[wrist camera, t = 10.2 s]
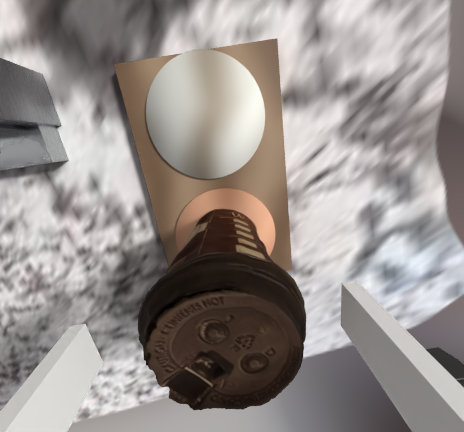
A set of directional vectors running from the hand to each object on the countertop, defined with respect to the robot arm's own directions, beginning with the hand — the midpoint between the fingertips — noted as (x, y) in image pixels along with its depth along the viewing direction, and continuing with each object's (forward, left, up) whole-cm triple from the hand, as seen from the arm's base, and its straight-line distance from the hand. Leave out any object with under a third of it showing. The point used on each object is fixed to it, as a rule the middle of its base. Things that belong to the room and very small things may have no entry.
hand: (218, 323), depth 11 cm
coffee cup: (0, 0, -11) cm, 11 cm away
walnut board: (0, +5, -13) cm, 14 cm away
